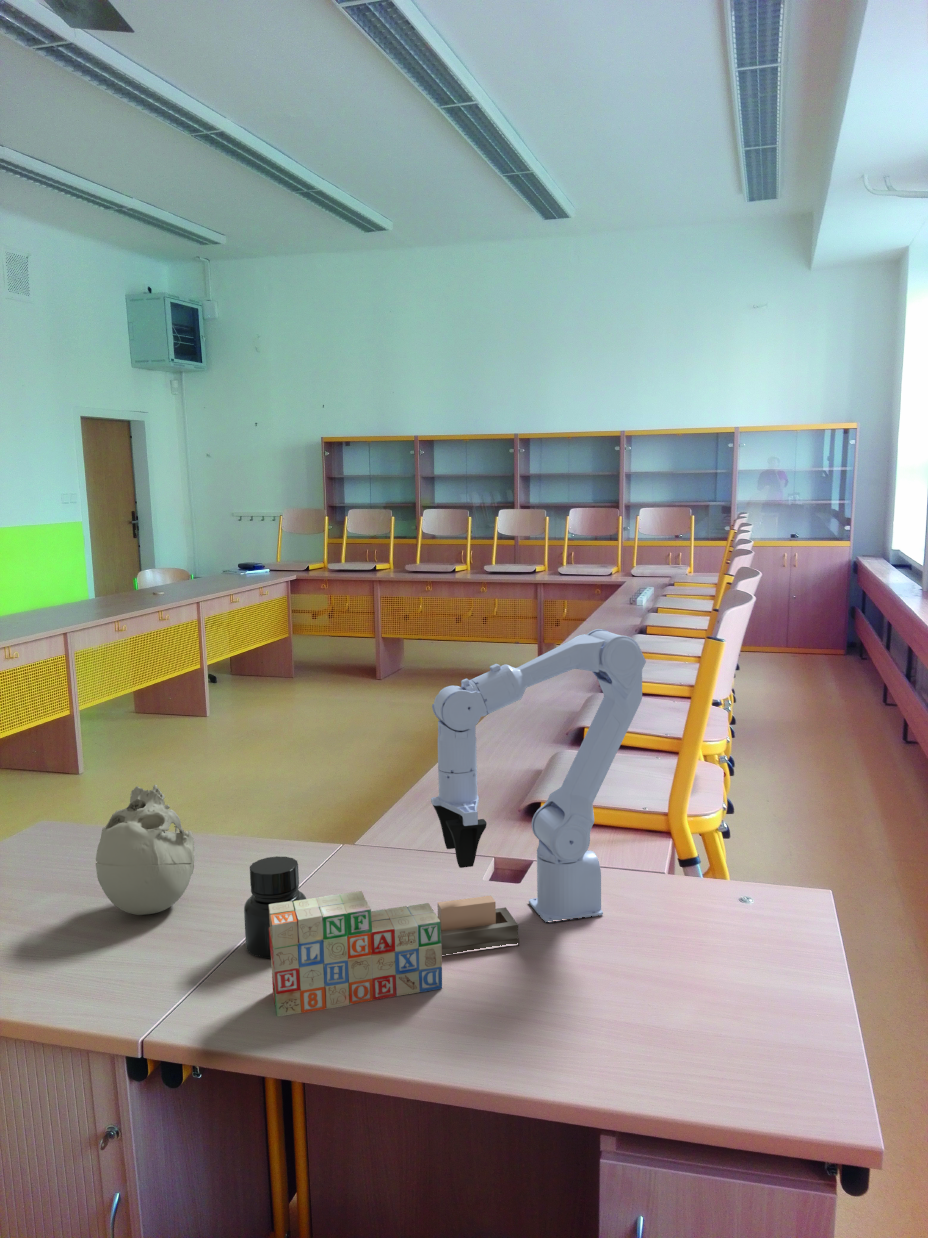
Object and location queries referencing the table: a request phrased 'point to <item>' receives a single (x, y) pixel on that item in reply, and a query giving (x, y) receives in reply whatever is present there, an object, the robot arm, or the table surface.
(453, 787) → the robot arm
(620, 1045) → the table surface
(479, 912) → the tan rectangular block
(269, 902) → the ink bottle
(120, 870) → the skull
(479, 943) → the shallow rectangular tray
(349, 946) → the stack of blocks
